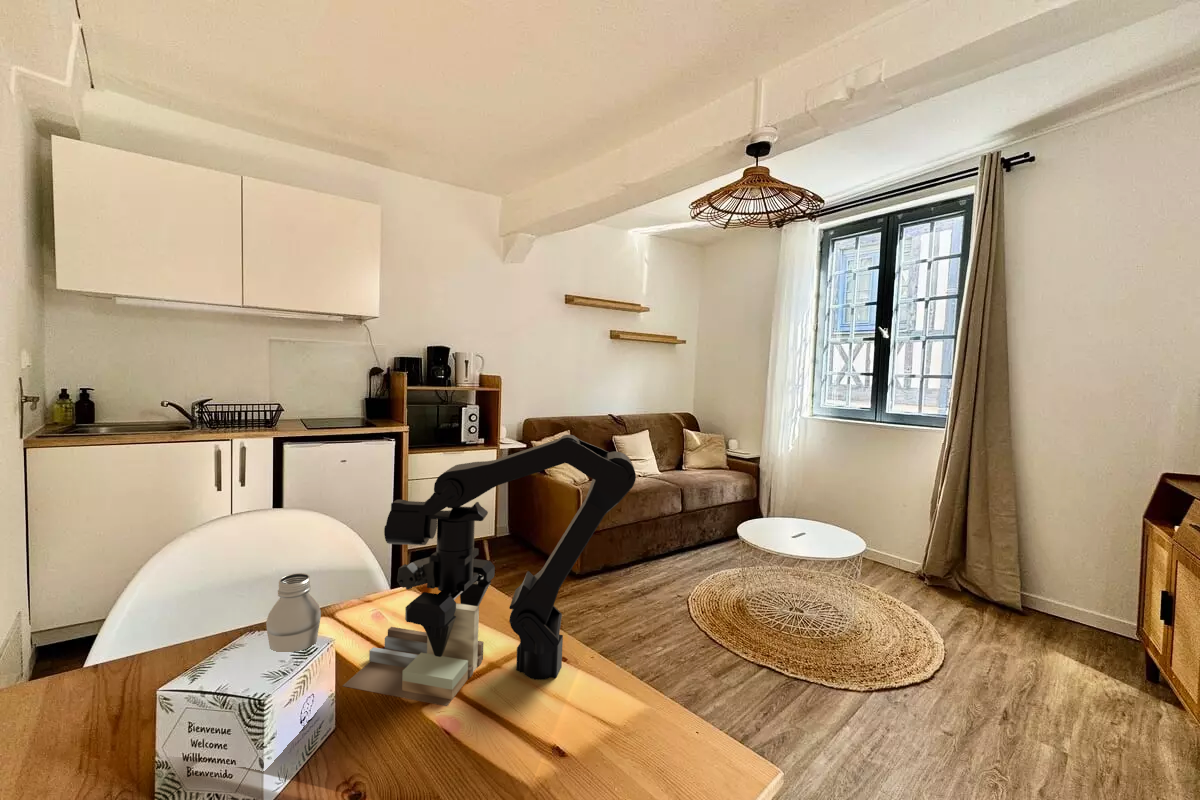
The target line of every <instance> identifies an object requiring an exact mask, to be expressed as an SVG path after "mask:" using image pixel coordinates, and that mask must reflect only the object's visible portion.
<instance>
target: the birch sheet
mask: <svg viewBox="0 0 1200 800" xmlns="http://www.w3.org/2000/svg"><path fill="white" fill-rule="evenodd" d="M479 615H480V605H479V606H472V605H465V604H461V603H457V602H456V611H455V613H454V616H456V619H455V621H454V624H453V627H452V630H451V633H450V636H449V639H448V642H447V644H446V647H445V650H444V652H443V655H442V656H444V657H450V658H456V659H462V660H468V666H473V671H474V672H475V671H476V669H477V668H478V667H477V656H478V641H479V618H480V617H479ZM427 654H433V655H434V652H433V649H432V647H431V644H430V641H429V638H428V636H427Z"/></svg>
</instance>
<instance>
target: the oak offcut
mask: <svg viewBox="0 0 1200 800" xmlns="http://www.w3.org/2000/svg"><path fill="white" fill-rule="evenodd" d="M467 679H468V680H469V678H468V670H467V672H466V673H465V674H464V675H463V677H462V678H461V679H460V680H459V682H458V683H457V684H456V686H455V687H454V688H453V689H452V690H451V689H445V688H440V687H434V686H429V685H424V684H418V683H413V682H407V681H402V690H403V691H408V692H414V693H419V694H424V695H430V696H435V697H440V698H446V699H451V701H453V699H454V698H455V697H456V695H457V694H458V693H459V692H460V691H461V689H462V687H463V686H464V685H465V684H464V683H466V682H467V681H468V680H467ZM460 688H461V689H460ZM457 692H458V693H457ZM454 696H455V697H454Z"/></svg>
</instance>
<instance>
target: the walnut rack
mask: <svg viewBox="0 0 1200 800" xmlns="http://www.w3.org/2000/svg"><path fill="white" fill-rule="evenodd" d="M484 644H485V643H484V641H482V640H478V656H477V668H478V667H479V666H481V664H482V662H483V660H484ZM368 652H369V654H368V656H369V658H368V660H369V661H368V663H367V664H366V665H365V666H364V667H362V668H360V670H359V671H358V672H356V673H355V674H354V675H353V676H352V677H351V678H350V679H348V680H347V681H346V682H345V683H343V684H342V687H345V688H350V689H355V690H360V691H365V692H371V693H376V694H381V695H387V696H392V697H396V698H401V699H406V700H413V701H418V702H422V703H428V704H433V705H439V706H442V707H443V706H445V707H448V706H449V704H450V703H451V702H452V700H451V699H446V698H440V697H435V696H430V695H424V694H419V693H414V692H408V691H403V690H402V676H403V670H404V669H405V668H406V667H407V666H408V665H409V664H410V663H411V662H412V661H413V660H414V659H415V658H416V657H417V656H418V655H419V654H420V653H427V633H426V631H419V630H414V629H406V628H400V627H394V626H390V627H389V628H388V629H387V635H386V636H385V637H384V648H382V647H381V648H379V647H372V648H371V649H370V650H369V651H368ZM474 672H475V670H474V671H473V666H468V679H467V681H468V680H469V679H470V678H471V677H472V676H473V675H474ZM465 683H466V682H465ZM465 683H464V685H465ZM461 689H462V687H461V688H460V690H461ZM458 693H459V691H458V692H457V694H458ZM455 697H456V695H455V696H454V698H455Z"/></svg>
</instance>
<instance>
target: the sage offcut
mask: <svg viewBox="0 0 1200 800" xmlns="http://www.w3.org/2000/svg"><path fill="white" fill-rule="evenodd" d="M467 670H468V660H462V659H456V658H450V657H444V656H441V657H438V656H435V655H433V654H427V653H420V654H419V655H418V656H417V657H416V658H415V659H414V660H413V661H412V662H411V663H410V664H409V665H408V666H407V667H406V668H405V669H404V670H403V676H402V681H407V682H413V683H418V684H424V685H429V686H434V687H440V688H445V689H451V690H452V689H453V688H454V687H455V686H456V684H457V683H458V682H459V680H460V679H461V678H462V677H463V675H464V674H465V673H466V672H467Z"/></svg>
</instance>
